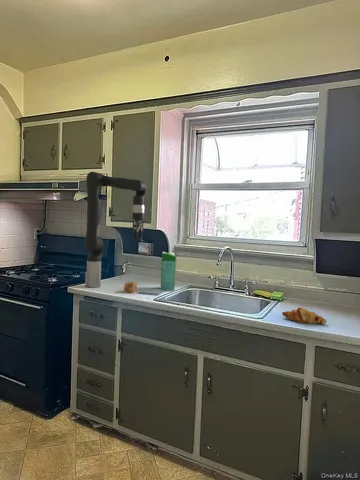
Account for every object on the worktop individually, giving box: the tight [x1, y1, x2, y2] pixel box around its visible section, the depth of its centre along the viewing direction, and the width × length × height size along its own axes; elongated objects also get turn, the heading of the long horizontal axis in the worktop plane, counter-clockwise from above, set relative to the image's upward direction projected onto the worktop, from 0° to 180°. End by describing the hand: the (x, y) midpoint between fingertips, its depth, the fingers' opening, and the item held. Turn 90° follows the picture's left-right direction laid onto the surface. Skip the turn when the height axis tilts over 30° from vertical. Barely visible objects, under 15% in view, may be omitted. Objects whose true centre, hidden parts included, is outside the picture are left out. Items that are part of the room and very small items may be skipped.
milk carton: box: [160, 251, 177, 292], centre depth 239 cm, size 9×9×25 cm
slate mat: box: [137, 287, 164, 296], centre depth 228 cm, size 13×13×1 cm
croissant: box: [281, 307, 327, 325], centre depth 178 cm, size 21×10×8 cm, turn 66°
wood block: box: [123, 281, 138, 294], centre depth 226 cm, size 6×6×6 cm
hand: (137, 237), depth 225 cm, fingers open, 8 cm apart
